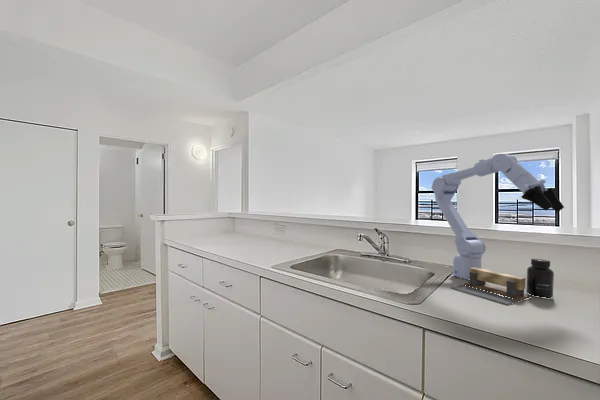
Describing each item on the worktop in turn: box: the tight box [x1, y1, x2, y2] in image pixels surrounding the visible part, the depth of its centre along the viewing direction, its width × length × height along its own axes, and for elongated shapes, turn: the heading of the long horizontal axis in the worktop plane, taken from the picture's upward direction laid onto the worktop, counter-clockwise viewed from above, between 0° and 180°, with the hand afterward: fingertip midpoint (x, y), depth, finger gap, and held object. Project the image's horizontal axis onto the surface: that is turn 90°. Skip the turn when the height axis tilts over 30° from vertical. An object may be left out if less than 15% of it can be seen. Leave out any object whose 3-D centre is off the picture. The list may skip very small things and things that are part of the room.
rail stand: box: [463, 272, 533, 302], centre depth 98 cm, size 18×7×6 cm, turn 28°
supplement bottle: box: [525, 258, 555, 298], centre depth 94 cm, size 7×7×12 cm
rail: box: [469, 267, 527, 290], centre depth 98 cm, size 16×4×4 cm, turn 28°
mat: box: [450, 284, 520, 306], centre depth 94 cm, size 18×7×1 cm, turn 28°
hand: (555, 208), depth 89 cm, fingers open, 7 cm apart
